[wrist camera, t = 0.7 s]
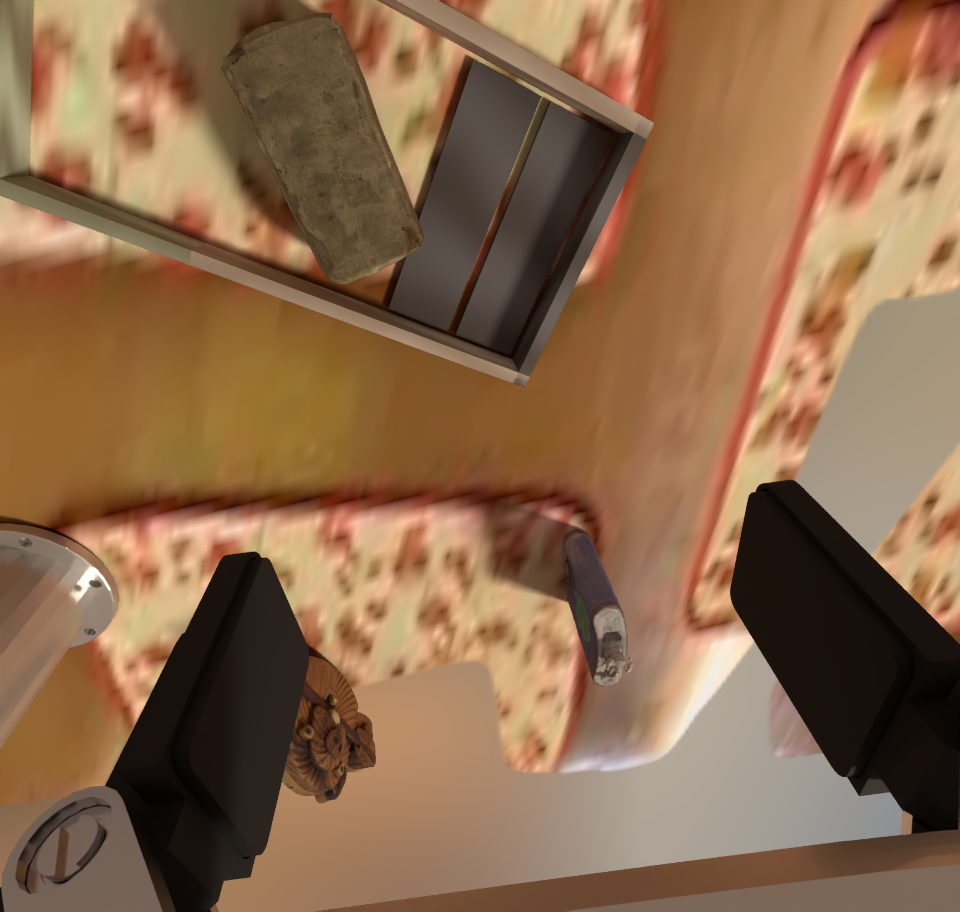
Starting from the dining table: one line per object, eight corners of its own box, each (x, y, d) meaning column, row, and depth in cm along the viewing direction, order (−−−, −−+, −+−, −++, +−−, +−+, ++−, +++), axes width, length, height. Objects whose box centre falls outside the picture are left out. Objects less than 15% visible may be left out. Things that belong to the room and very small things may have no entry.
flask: (561, 531, 45) (599, 630, 36) (595, 525, 45) (641, 623, 36) (565, 607, 50) (600, 712, 41) (596, 601, 50) (637, 705, 41)
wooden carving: (394, 712, 55) (391, 817, 47) (356, 728, 56) (346, 834, 47) (298, 617, 47) (273, 722, 39) (255, 636, 48) (221, 745, 39)
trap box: (517, 373, 38) (525, 390, 35) (11, 184, 29) (-28, 188, 26) (637, 124, 31) (658, 122, 28) (16, -225, 22) (-36, -274, 19)
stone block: (344, 277, 33) (330, 295, 28) (236, 60, 27) (198, 43, 23) (431, 239, 32) (430, 253, 28) (338, 10, 27) (319, -18, 22)
